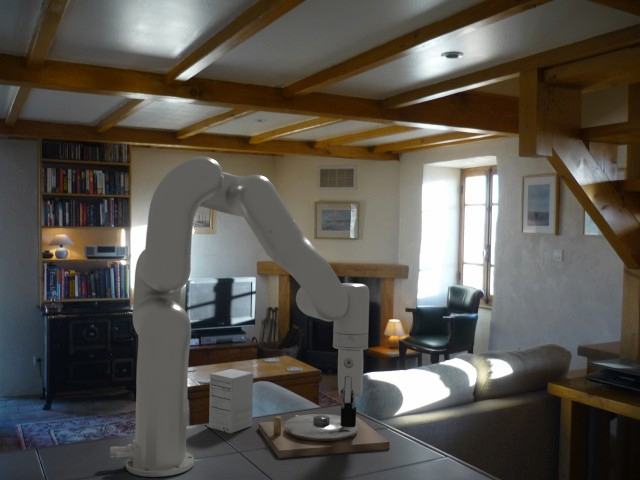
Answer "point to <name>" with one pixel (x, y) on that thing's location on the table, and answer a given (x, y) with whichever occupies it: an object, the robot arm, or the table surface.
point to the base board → (297, 447)
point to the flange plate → (319, 427)
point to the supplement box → (231, 400)
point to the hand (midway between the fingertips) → (348, 425)
